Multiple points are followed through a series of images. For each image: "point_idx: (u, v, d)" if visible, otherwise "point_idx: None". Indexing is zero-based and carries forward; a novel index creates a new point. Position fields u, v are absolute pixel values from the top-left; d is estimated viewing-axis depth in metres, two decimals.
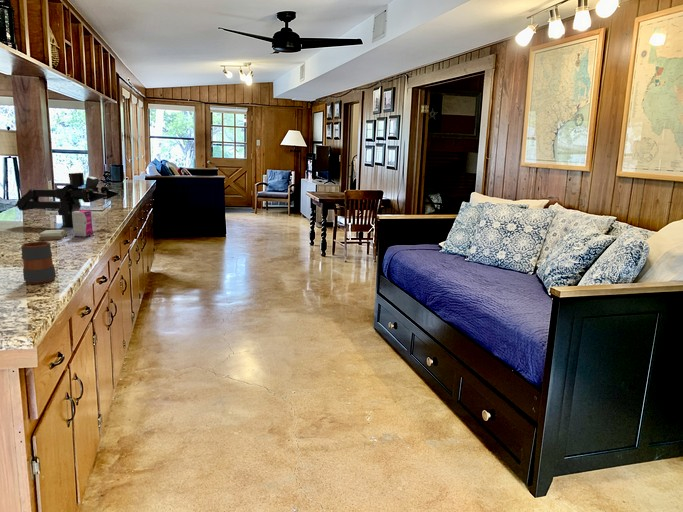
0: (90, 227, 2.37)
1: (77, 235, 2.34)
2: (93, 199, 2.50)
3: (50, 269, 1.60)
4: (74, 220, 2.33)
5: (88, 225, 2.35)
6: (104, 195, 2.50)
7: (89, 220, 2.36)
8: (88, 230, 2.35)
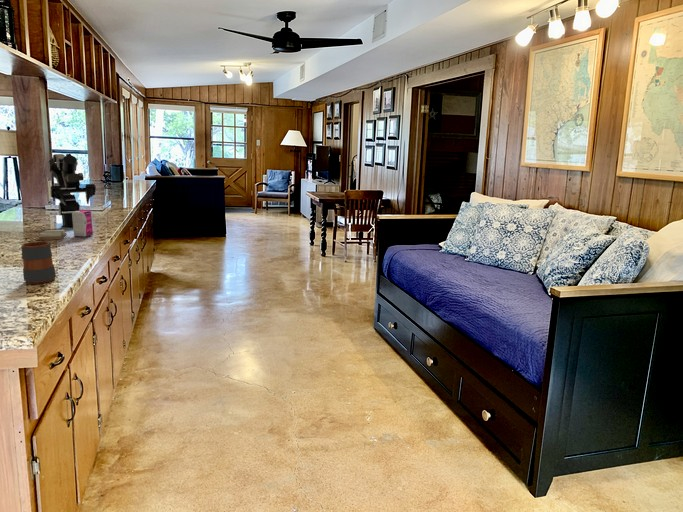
0: (90, 227, 2.37)
1: (77, 235, 2.34)
2: (58, 198, 2.40)
3: (50, 269, 1.60)
4: (74, 220, 2.33)
5: (88, 225, 2.35)
6: (64, 203, 2.38)
7: (89, 220, 2.36)
8: (88, 230, 2.35)
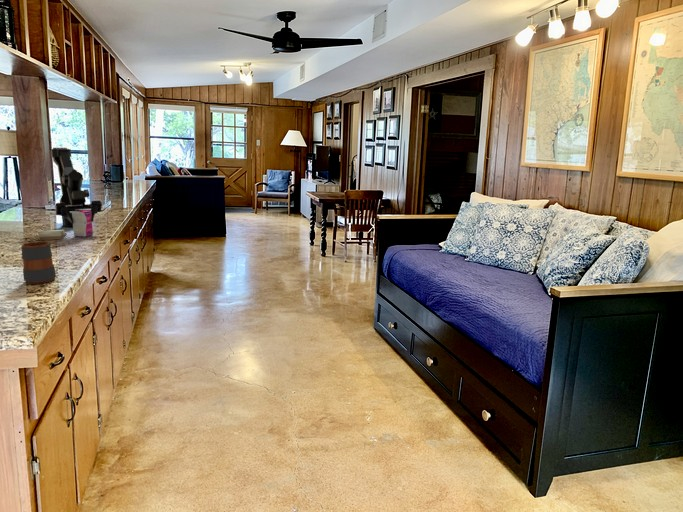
0: (90, 227, 2.37)
1: (77, 235, 2.34)
2: (65, 215, 2.34)
3: (50, 269, 1.60)
4: (74, 220, 2.32)
5: (88, 225, 2.35)
6: (71, 221, 2.32)
7: (89, 220, 2.36)
8: (88, 230, 2.35)
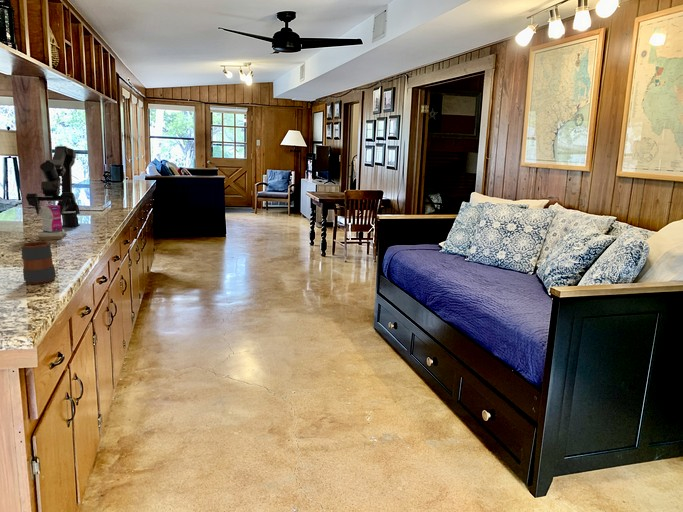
0: (58, 222, 2.30)
1: (45, 230, 2.29)
2: None
3: (50, 269, 1.60)
4: (42, 214, 2.28)
5: (55, 221, 2.29)
6: None
7: (57, 216, 2.29)
8: (55, 226, 2.29)
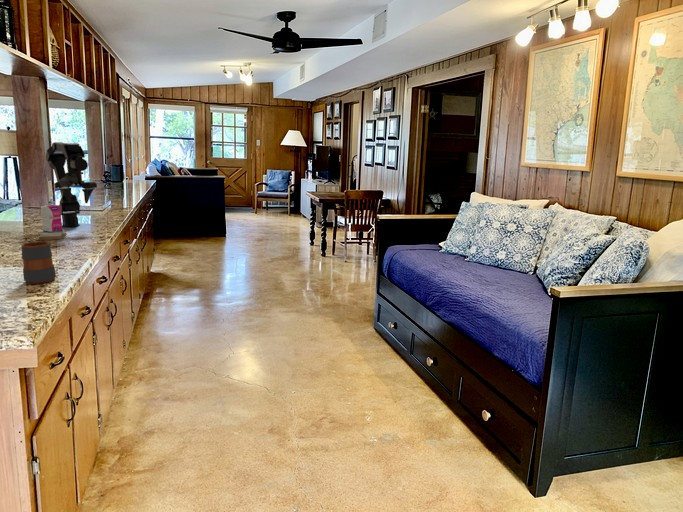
0: (58, 222, 2.30)
1: (45, 230, 2.29)
2: None
3: (50, 269, 1.60)
4: (42, 214, 2.28)
5: (55, 221, 2.29)
6: None
7: (57, 216, 2.29)
8: (55, 226, 2.29)
